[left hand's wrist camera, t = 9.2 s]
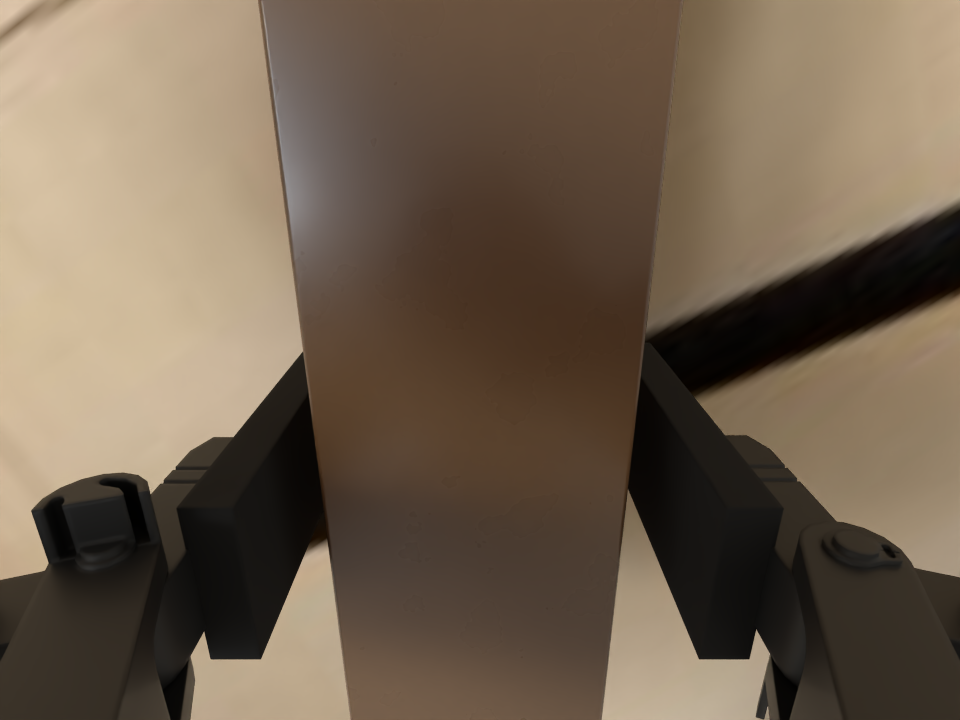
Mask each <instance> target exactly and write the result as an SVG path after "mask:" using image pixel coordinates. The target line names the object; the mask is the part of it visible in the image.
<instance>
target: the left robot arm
mask: <svg viewBox="0 0 960 720" xmlns="http://www.w3.org/2000/svg"><path fill="white" fill-rule="evenodd" d="M628 490H629V492H630V494H631V497H632V499H633V502H634V504H635V506H636V509H637V511H638V514H639V516H640V518H641V521H642V523H643V526H644V528H645V530H646V533H647V535H648V538H649V540H650V542H651V545H652V547H653V550H654V552H655V554H656V557H657V559H658V562H659V564H660V566H661V569H662V571H663V574H664V576H665V578H666V581H667V583H668V586H669V588H670V590H671V593H672V595H673V598H674V600H675V602H676V605H677V607H678V610H679V612H680V614H681V617H682V619H683V622H684V624H685V626H686V629H687V631H688V634H689V636H690V638H691V641H692V643H693V646H694V648H695V650H696V653H697V655H698V658H699V659H749V658H750V654H751V650H752V645H753V641H754V636H755V632H756V629H757V631H758V633H759V635H760V636H761V638H762V640H763V642H764V644H765V645H766V647H767V649H768V651H769V653H770V657H769V661H768V665H767V669H766V673H765V677H764V681H763V685H762V689H761V694H760V698H759V702H758V706H757V713H756V717H757V718H761V719H764V718H765V714H766V710H767V707H768V708H769V716H770V720H960V577H955V576H950V575H945V574H940V573H935V572H930V571H925V570H921V569H917V568H914V567H913V565H912V563H911V561H910V560H909V559H908V558H907V556H906V555H905V554H904V553H903V551H902V550H901V549H900V548H898V547H897V546H895V545H894V544H893V543H891V542H890V541H888V540H887V539H886V538H884V537H882V536H880V535H878V534H876V533H873V532H871V531H869V530H867V529H865V528H862V527H858V526H855V525H851V524H847V523H844V522H837V521H836V520H835V519H834V518H833V517H832V516H831V515H830V514H829V513H828V512H827V511H826V509H825V508H824V507H823V506H822V505H821V504H820V503H819V502H818V501H817V500H816V499H815V498H814V496H813V495H812V494H811V493H810V492H809V491H808V490H807V489H806V488H805V487H804V486H803V484H802V483H801V482H797V478H796V477H795V476H794V475H793V474H792V472H791V471H790V470H789V469H788V468H785V465H784V464H783V463H782V462H781V460H780V459H779V458H778V457H777V456H776V455H775V454H774V453H773V452H772V451H771V450H770V449H769V448H767V447H766V446H764V445H762V444H761V443H759V442H757V441H755V440H754V439H752V438H750V437H749V436H747V435H724V434H723V432H722V431H721V430H720V429H719V427H718V426H717V425H716V424H715V423H714V421H713V420H712V419H711V418H710V416H709V415H708V414H707V413H706V411H705V410H704V409H703V408H702V406H701V405H700V404H699V403H698V402H697V400H696V399H695V398H694V397H693V395H692V394H691V393H690V392H689V390H688V389H687V388H686V387H685V385H684V384H683V383H682V382H681V381H680V379H679V378H678V377H677V376H676V374H675V373H674V372H673V371H672V369H671V368H670V367H669V366H668V365H667V363H666V362H665V361H664V360H663V358H662V357H661V356H660V355H659V353H658V352H657V351H656V350H655V348H654V347H653V346H652V345H651V344H650V343H644V351H643V360H642V369H641V378H640V387H639V395H638V404H637V413H636V422H635V431H634V439H633V448H632V457H631V466H630V474H629V483H628ZM322 511H323V501H322V493H321V485H320V478H319V470H318V462H317V454H316V446H315V439H314V431H313V423H312V415H311V408H310V400H309V392H308V384H307V377H306V369H305V361H304V353H303V352H302V353H301V355H300V356H299V357H298V358H297V360H296V361H295V362H294V363H293V365H292V366H291V367H290V368H289V369H288V371H287V372H286V373H285V374H284V376H283V377H282V378H281V379H280V381H279V382H278V383H277V384H276V386H275V387H274V388H273V389H272V390H271V392H270V393H269V394H268V395H267V397H266V398H265V399H264V400H263V402H262V403H261V404H260V405H259V406H258V408H257V409H256V410H255V411H254V413H253V414H252V415H251V416H250V418H249V419H248V420H247V421H246V423H245V424H244V425H243V426H242V427H241V429H240V430H239V431H238V432H237V434H236V435H235V436H234V437H213V438H212V439H210V440H208V441H206V442H205V443H203V444H201V445H200V446H198V447H196V448H195V449H193V450H191V451H190V452H189V453H188V454H187V455H186V456H185V457H184V459H183V460H182V461H181V462H180V463H179V464H178V465H177V466H176V470H173V471H172V472H171V473H170V474H169V475H168V476H167V477H166V478H165V479H164V483H163V484H160V485H159V486H158V487H157V488H156V489H155V490H154V492H153V493H152V494H150V490H149V486H148V482H147V481H146V480H145V479H143V478H142V477H140V476H139V475H134V474H128V473H112V474H102V475H98V476H94V477H89V478H85V479H81V480H79V481H76V482H74V483H71V484H69V485H66V486H64V487H61V488H59V489H58V490H56V491H54V492H53V493H51V494H50V495H48V496H46V497H45V498H43V499H42V500H41V501H40V502H39V503H38V504H37V505H36V506H35V507H34V508H33V509H32V510H31V512H32V515H33V518H34V521H35V524H36V527H37V530H38V532H39V535H40V538H41V541H42V544H43V547H44V550H45V553H46V556H47V559H48V562H49V564H48V566H47V568H46V570H45V571H42V572H38V573H33V574H28V575H23V576H18V577H13V578H9V579H4V580H0V720H190V717H191V709H192V701H193V693H194V685H195V677H194V670H193V665H192V661H191V657H190V656H191V654H192V652H193V650H194V649H195V647H196V645H197V643H198V641H199V640H200V638H201V636H202V634H203V632H205V636H206V641H207V645H208V649H209V654H210V658H211V659H261V658H262V655H263V653H264V651H265V648H266V646H267V643H268V641H269V639H270V636H271V634H272V631H273V629H274V626H275V624H276V622H277V619H278V617H279V614H280V612H281V610H282V607H283V605H284V602H285V600H286V598H287V595H288V593H289V590H290V588H291V586H292V583H293V581H294V578H295V576H296V574H297V571H298V569H299V566H300V564H301V562H302V559H303V557H304V554H305V552H306V550H307V547H308V545H309V542H310V540H311V538H312V535H313V533H314V530H315V528H316V526H317V523H318V521H319V518H320V516H321V514H322Z"/></svg>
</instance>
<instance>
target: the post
mask: <svg viewBox="0 0 960 720" xmlns="http://www.w3.org/2000/svg"><path fill="white" fill-rule="evenodd" d="M258 4H259V12H260V19H261V27H262V35H263V43H264V50H265V58H266V66H267V74H268V82H269V89H270V97H271V105H272V113H273V120H274V128H275V136H276V144H277V151H278V159H279V167H280V175H281V182H282V190H283V198H284V206H285V214H286V221H287V229H288V237H289V245H290V252H291V260H292V268H293V276H294V283H295V291H296V299H297V307H298V314H299V322H300V330H301V338H302V346H303V353H304V361H305V369H306V377H307V384H308V392H309V400H310V408H311V415H312V423H313V431H314V439H315V446H316V454H317V462H318V470H319V478H320V485H321V493H322V501H323V509H324V516H325V524H326V532H327V540H328V547H329V555H330V563H331V571H332V578H333V586H334V594H335V602H336V610H337V617H338V625H339V633H340V641H341V648H342V656H343V664H344V672H345V679H346V687H347V695H348V703H349V710H350V718H351V720H602V712H603V703H604V694H605V685H606V676H607V668H608V659H609V650H610V641H611V632H612V624H613V615H614V606H615V597H616V589H617V580H618V571H619V562H620V553H621V545H622V536H623V527H624V518H625V510H626V501H627V492H628V483H629V474H630V466H631V457H632V448H633V439H634V431H635V422H636V413H637V404H638V395H639V387H640V378H641V369H642V360H643V351H644V343H645V334H646V325H647V316H648V308H649V299H650V290H651V281H652V272H653V264H654V255H655V246H656V237H657V229H658V220H659V211H660V202H661V193H662V185H663V176H664V167H665V158H666V150H667V141H668V132H669V123H670V114H671V106H672V97H673V88H674V79H675V70H676V62H677V53H678V44H679V35H680V27H681V18H682V9H683V0H258Z"/></svg>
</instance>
